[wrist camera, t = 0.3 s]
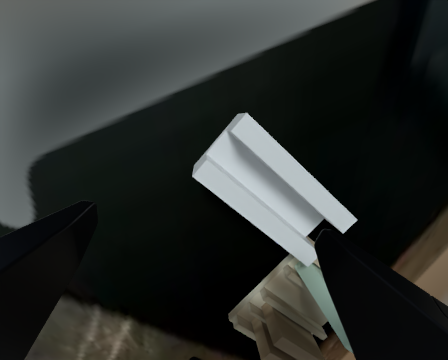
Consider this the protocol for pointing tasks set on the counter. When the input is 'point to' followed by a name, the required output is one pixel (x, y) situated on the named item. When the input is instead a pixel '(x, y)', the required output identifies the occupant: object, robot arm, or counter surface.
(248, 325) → the birch rack
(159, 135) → the counter surface
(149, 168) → the counter surface
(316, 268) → the green sheet
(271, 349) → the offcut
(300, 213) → the grey slotted stand
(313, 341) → the middle offcut
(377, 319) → the robot arm
